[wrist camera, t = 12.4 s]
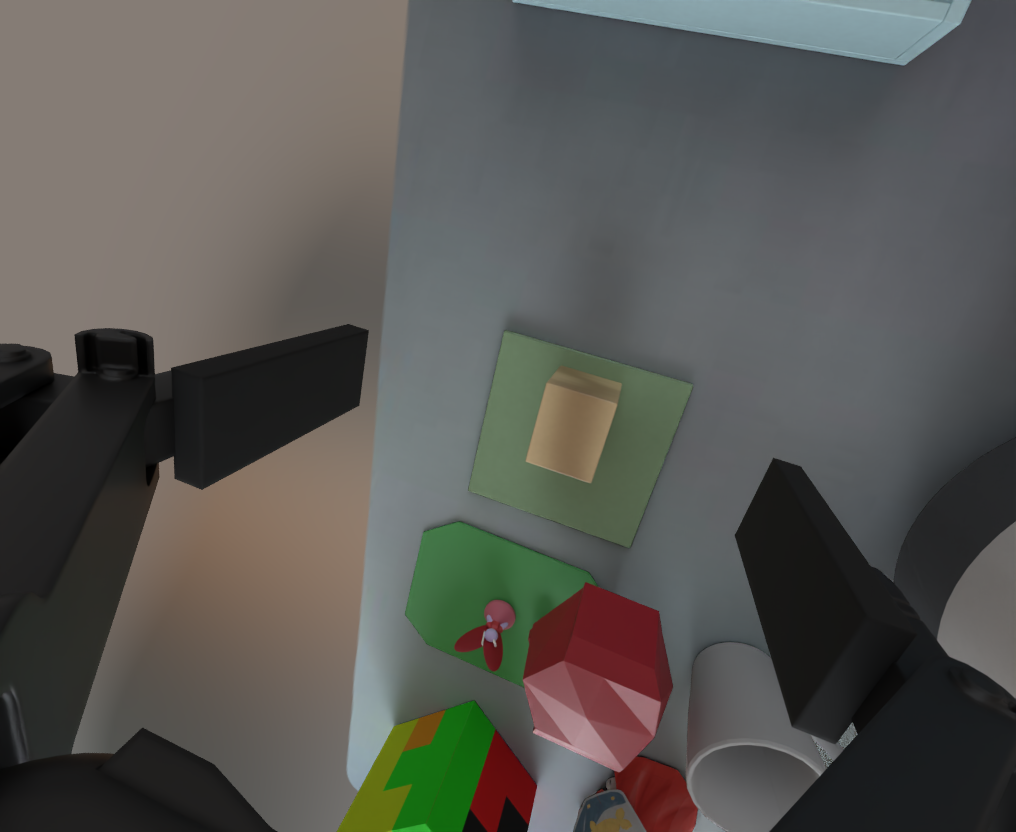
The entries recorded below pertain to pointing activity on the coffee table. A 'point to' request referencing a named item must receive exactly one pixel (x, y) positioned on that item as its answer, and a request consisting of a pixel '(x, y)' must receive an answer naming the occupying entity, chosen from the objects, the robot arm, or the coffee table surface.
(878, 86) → the coffee table surface
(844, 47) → the box
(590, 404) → the birch piece
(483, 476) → the mat
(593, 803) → the figurine
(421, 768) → the puzzle toy
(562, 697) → the low-poly diorama
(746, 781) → the cup
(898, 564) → the planter
